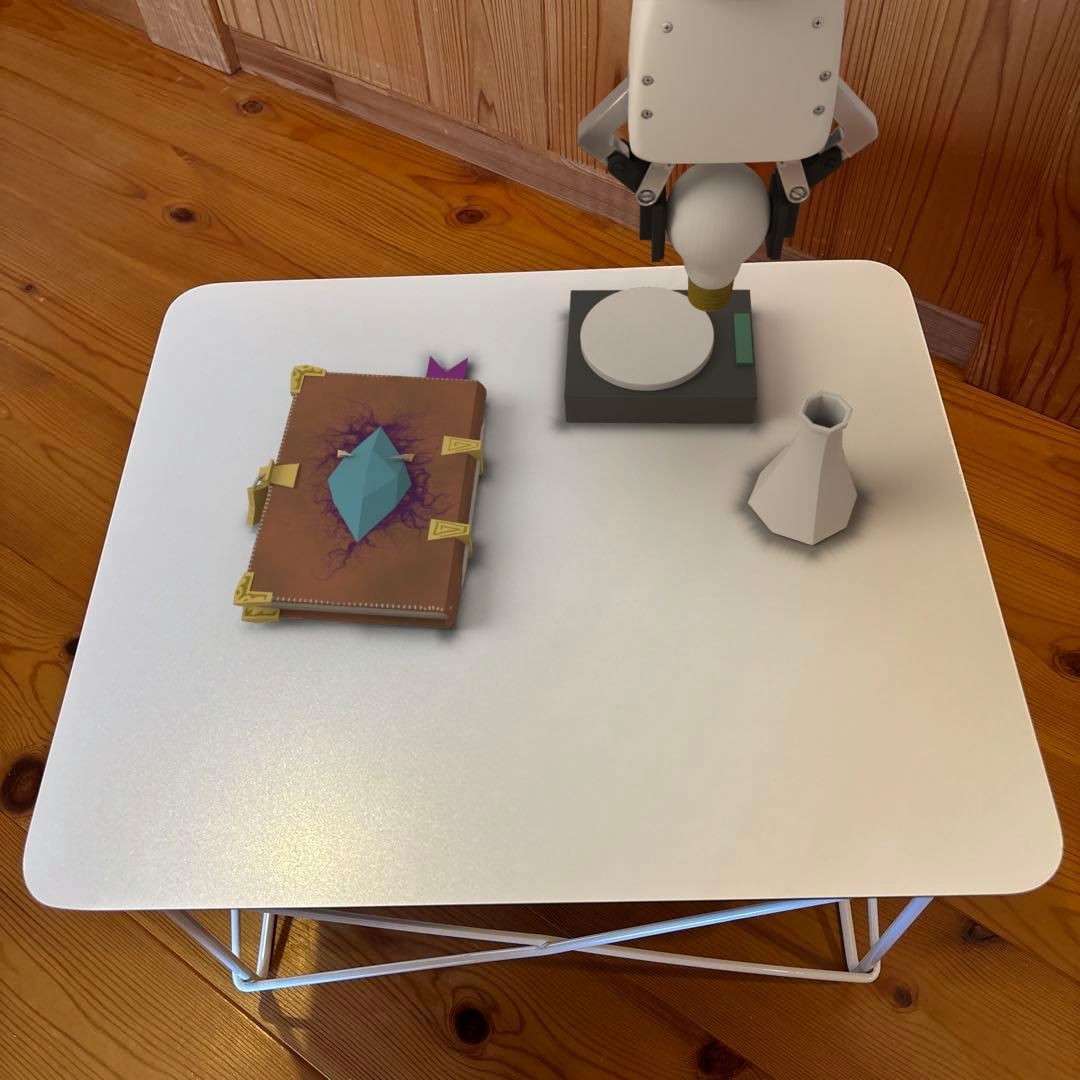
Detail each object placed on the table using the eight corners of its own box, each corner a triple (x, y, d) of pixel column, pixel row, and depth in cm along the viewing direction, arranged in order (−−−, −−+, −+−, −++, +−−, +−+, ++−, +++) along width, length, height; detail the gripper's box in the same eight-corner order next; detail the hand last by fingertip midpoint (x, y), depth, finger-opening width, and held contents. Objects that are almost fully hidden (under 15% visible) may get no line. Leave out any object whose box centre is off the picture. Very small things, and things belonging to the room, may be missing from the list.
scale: (746, 316, 83) (751, 281, 80) (753, 423, 78) (758, 389, 74) (572, 317, 85) (570, 282, 81) (565, 422, 79) (563, 389, 76)
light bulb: (643, 292, 65) (647, 156, 57) (726, 260, 66) (742, 123, 58) (689, 354, 62) (700, 220, 54) (775, 320, 63) (799, 184, 55)
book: (497, 367, 83) (494, 322, 79) (462, 643, 70) (456, 607, 66) (296, 357, 84) (283, 312, 80) (223, 627, 71) (203, 591, 67)
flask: (729, 506, 74) (743, 416, 65) (789, 444, 76) (811, 350, 68) (815, 563, 71) (841, 476, 62) (874, 496, 73) (908, 404, 65)
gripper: (937, -132, 46) (858, 198, 61) (551, -115, 48) (567, 204, 63) (967, -41, 42) (874, 289, 57) (544, -25, 44) (563, 293, 59)
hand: (714, 242), depth 60 cm, fingers closed on light bulb, 5 cm apart
